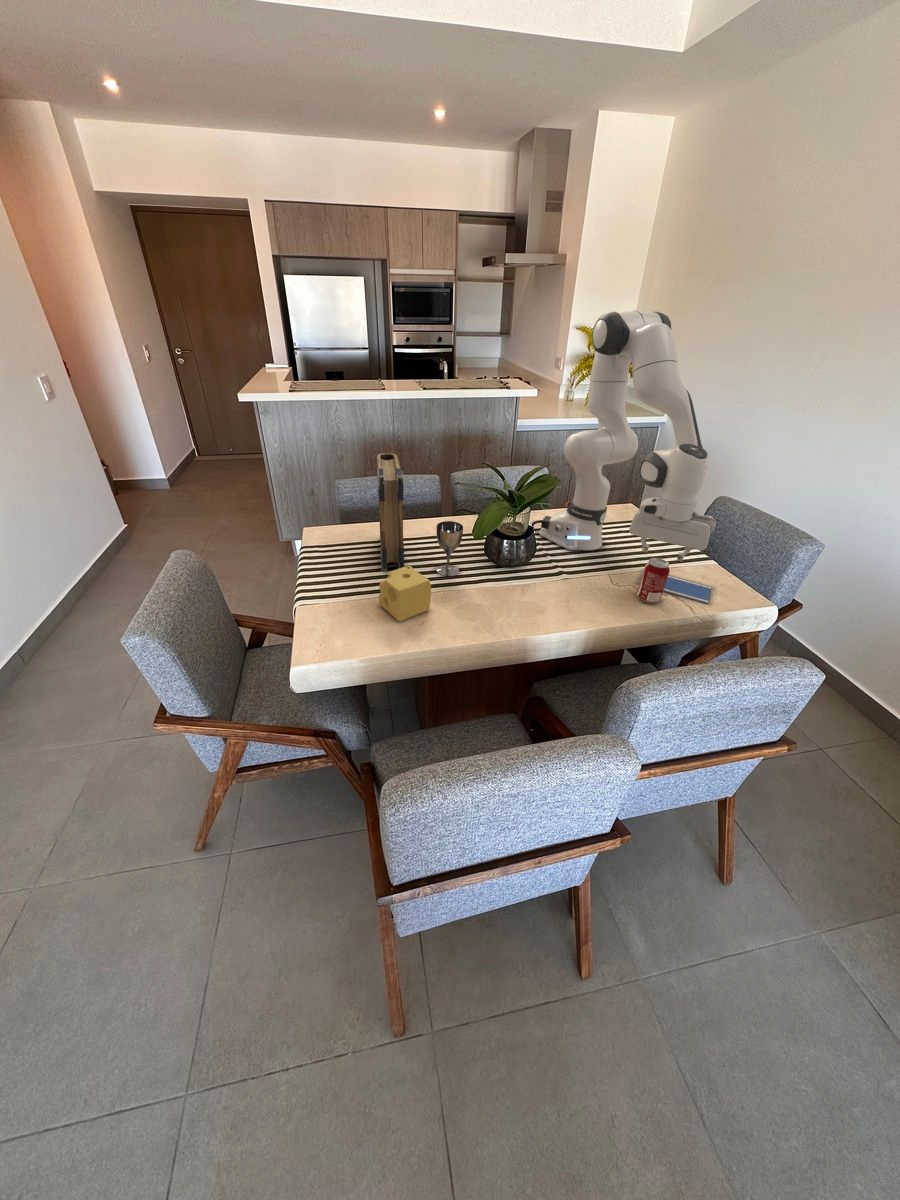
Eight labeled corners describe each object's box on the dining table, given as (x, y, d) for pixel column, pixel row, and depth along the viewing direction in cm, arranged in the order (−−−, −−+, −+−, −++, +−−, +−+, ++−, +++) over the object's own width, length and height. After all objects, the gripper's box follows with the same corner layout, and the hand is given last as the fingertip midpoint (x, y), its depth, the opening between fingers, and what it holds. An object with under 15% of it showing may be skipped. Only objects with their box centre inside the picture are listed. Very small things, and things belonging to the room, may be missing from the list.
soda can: (661, 605, 144) (673, 569, 137) (637, 602, 144) (648, 566, 138) (658, 593, 149) (669, 558, 143) (634, 590, 150) (645, 555, 144)
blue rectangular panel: (638, 584, 153) (638, 583, 153) (645, 569, 161) (645, 568, 161) (707, 604, 145) (707, 603, 145) (711, 587, 154) (711, 586, 153)
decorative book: (404, 569, 155) (403, 476, 138) (381, 570, 154) (377, 476, 137) (399, 536, 174) (398, 451, 158) (378, 537, 173) (375, 451, 157)
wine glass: (455, 562, 160) (457, 519, 152) (464, 574, 154) (467, 530, 145) (431, 566, 157) (432, 522, 149) (439, 578, 151) (441, 533, 143)
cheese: (378, 605, 138) (377, 574, 132) (411, 593, 143) (411, 563, 138) (398, 623, 131) (398, 591, 125) (432, 610, 136) (432, 579, 131)
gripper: (719, 513, 130) (703, 560, 137) (639, 497, 138) (628, 542, 145) (717, 521, 125) (700, 569, 132) (634, 504, 133) (623, 550, 140)
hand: (661, 555), depth 139 cm, fingers open, 8 cm apart
